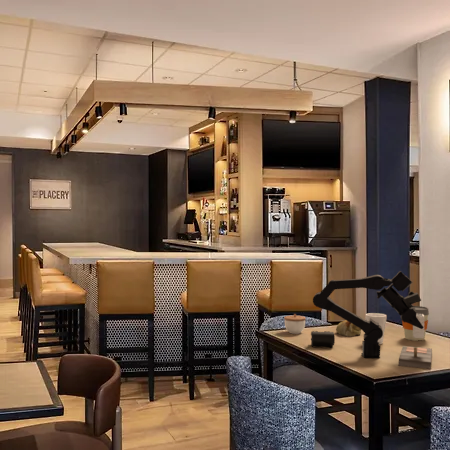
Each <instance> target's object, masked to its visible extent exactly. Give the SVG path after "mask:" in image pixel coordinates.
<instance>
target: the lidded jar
mask: <svg viewBox="0 0 450 450" xmlns="http://www.w3.org/2000/svg"><path fill="white" fill-rule="evenodd" d="M283 318H284V326H285V329H286V331H288V333H289V334H293V335H298V334H299V335H300V334H302V332H304V329H305V327H306V319H307V318H306V317H305V316H304V315H297V313H293V315H286V316H285V315H284V317H283Z"/></svg>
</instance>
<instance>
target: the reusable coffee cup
mask: <svg viewBox="0 0 450 450" xmlns="http://www.w3.org/2000/svg"><path fill="white" fill-rule="evenodd" d="M411 308H415V311H416V314H423V315H424V338H414V336H413V325H411V324H409V323H407V322H405V323H404V322H403V321H402V320H401V322H402V328H403V330H404V331H403V332H404V339H406V340H409V341H418V340H422V341H425V337H426V332H427V329H428V324H429V319H428V318H429V314H430V313H429V307H427V306H421V305H413V307H411Z"/></svg>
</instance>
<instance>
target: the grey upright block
mask: <svg viewBox="0 0 450 450" xmlns="http://www.w3.org/2000/svg"><path fill="white" fill-rule="evenodd" d="M416 317H417V319H418V320H419V321H420V323H421V324H422V326H423V329H420V328H418V327H416V326H413V336H414V338H424V315H423V314H416Z"/></svg>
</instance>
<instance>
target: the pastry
mask: <svg viewBox="0 0 450 450" xmlns="http://www.w3.org/2000/svg"><path fill="white" fill-rule="evenodd" d="M335 332H336V333H337V334H338V335H340V336H344V337H351V338H352V337H356V336H360V335H361V334H362V330H361V329H360V328H359V327H357V326H355V325H354V324H352V323H350V322H348V321H347V320H345V319H344V320H342V321H341V322H339V323H338V324H337V326H336V328H335Z"/></svg>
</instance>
